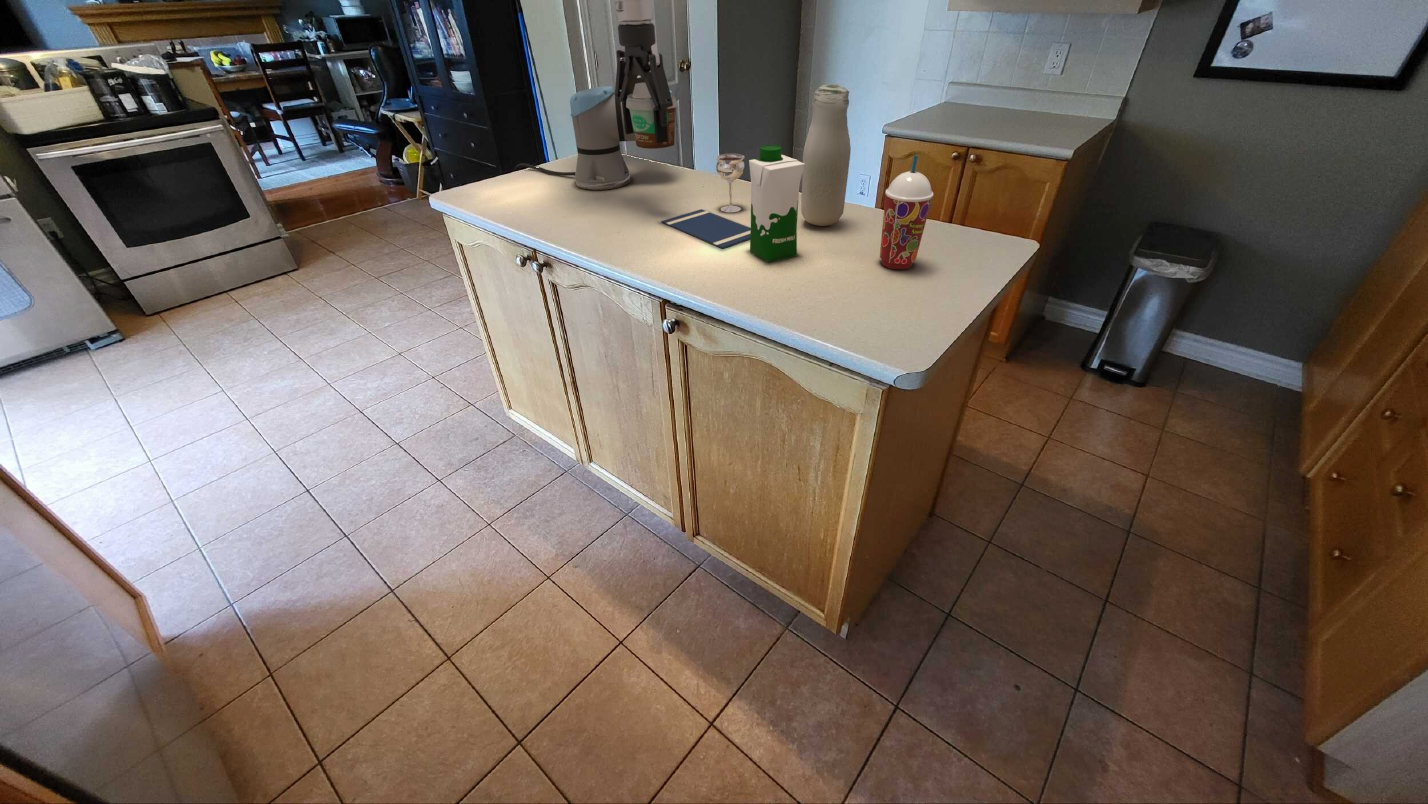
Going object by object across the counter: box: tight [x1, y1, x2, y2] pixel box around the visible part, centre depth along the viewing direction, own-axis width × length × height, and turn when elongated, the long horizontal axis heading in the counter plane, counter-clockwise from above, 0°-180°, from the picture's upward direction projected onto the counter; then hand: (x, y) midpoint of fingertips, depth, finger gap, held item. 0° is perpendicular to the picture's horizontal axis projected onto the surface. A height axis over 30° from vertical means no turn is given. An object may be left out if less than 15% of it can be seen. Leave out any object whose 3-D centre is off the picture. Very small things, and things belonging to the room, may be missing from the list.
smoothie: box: [879, 154, 934, 270], centre depth 105 cm, size 8×8×20 cm
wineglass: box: [715, 153, 746, 213], centre depth 136 cm, size 7×7×12 cm
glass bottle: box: [800, 84, 852, 227], centre depth 121 cm, size 10×10×28 cm
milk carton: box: [748, 144, 805, 264], centre depth 111 cm, size 9×9×20 cm
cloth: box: [661, 208, 751, 250], centre depth 129 cm, size 22×12×1 cm, turn 40°
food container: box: [626, 94, 679, 150], centre depth 126 cm, size 12×6×10 cm, turn 63°
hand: (646, 137), depth 129 cm, fingers closed on food container, 12 cm apart
